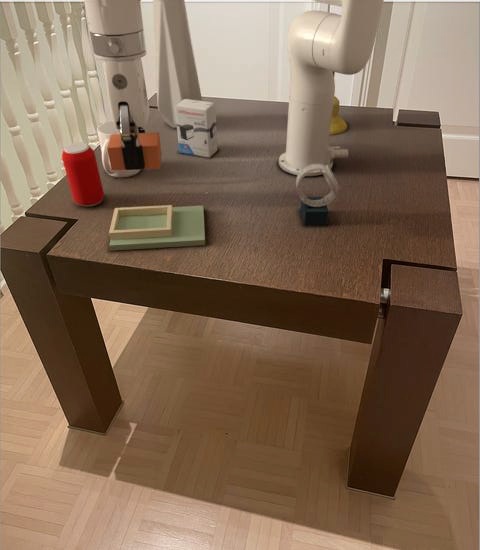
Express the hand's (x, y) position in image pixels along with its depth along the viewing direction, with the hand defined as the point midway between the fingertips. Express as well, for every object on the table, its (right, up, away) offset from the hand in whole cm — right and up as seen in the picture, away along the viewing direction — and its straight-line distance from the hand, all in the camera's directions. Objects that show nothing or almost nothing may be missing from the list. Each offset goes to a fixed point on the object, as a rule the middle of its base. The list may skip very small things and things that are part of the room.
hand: (136, 159), depth 77 cm
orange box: (0, 0, 0) cm, 1 cm away
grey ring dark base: (+32, -9, +12) cm, 35 cm away
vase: (+1, +23, +51) cm, 55 cm away
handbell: (+41, +21, +48) cm, 67 cm away
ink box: (+7, +11, +36) cm, 39 cm away
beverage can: (-14, -4, +18) cm, 23 cm away
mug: (-10, +3, +27) cm, 29 cm away
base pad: (+2, -11, +10) cm, 15 cm away
